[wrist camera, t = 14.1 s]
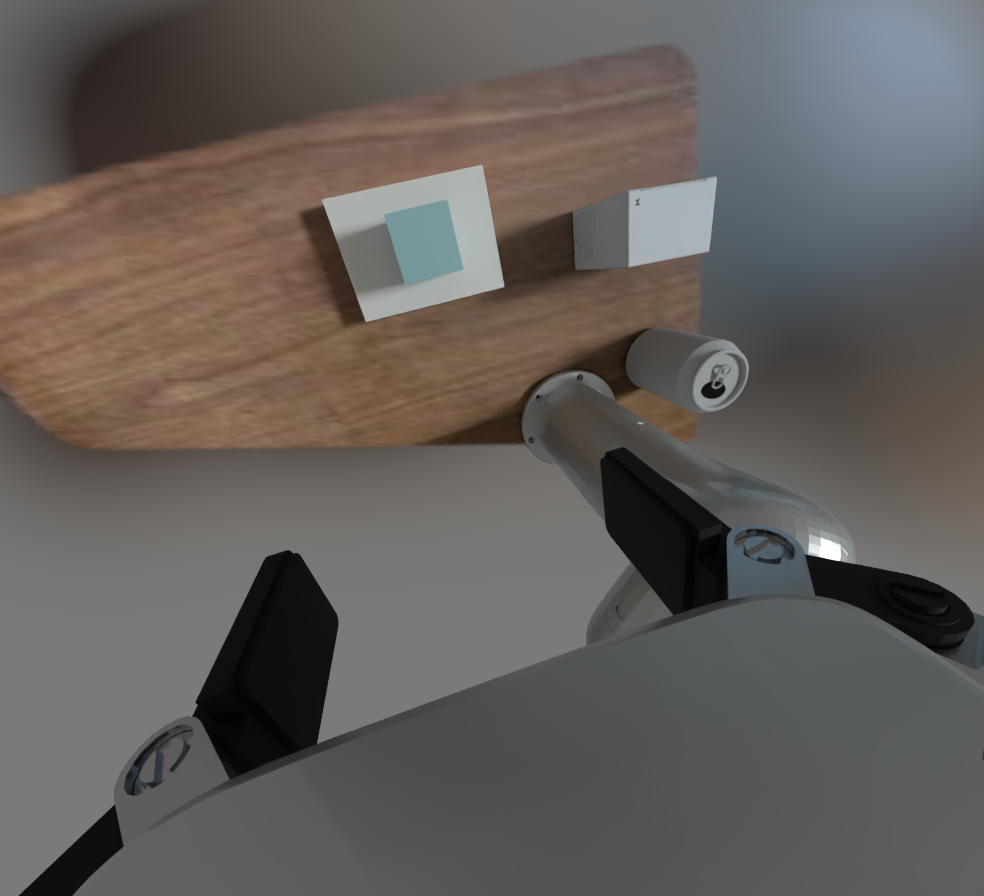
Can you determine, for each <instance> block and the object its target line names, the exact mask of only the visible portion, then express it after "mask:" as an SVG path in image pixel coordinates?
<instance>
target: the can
mask: <svg viewBox="0 0 984 896" xmlns="http://www.w3.org/2000/svg"><path fill="white" fill-rule="evenodd" d="M748 366H749V365H748V362H747V359H746V357H745V356H744V355H743V354H742V353H741V352H740V351H739V349H738V348H737V347H736V346H735V345H734V344H733V343H731V342H729V341H726V340H723V339H718V338H713V337H708V336H703V335H699V334H694V333H689V332H684V331H679V330H674V329H669V328H665V327H657V328H652V329H650V330H647V331H645V332H644V333H643V334H641V335H640V336H639V337H638V338H637V339H636V340H635V341H634V343H633V344H632V345H631V347H630V350H629V352H628V354H627V359H626V371H627V375H628V377H629V379H630V381H631V382H632V383H634V384H635V385H636V386H638V387H640V388H642V389H644V390H646V391H648V392H650V393H652V394H655V395H657V396H659V397H661V398H663V399H665V400H667V401H669V402H671V403H673V404H675V405H677V406H680V407H682V408H684V409H686V410H688V411H692V412H695V413H698V412H706V411H708V412H709V411H717V410H719V409H722V408H725V407H726V406H727V405H729V404H730V403H732V402H733V401H734V400H735V399H736V398H737V397H738V395H739V394H740V393H741V391H742V390H743V388H744V386H745V384H746V381H747V377H748V368H749V367H748Z"/></svg>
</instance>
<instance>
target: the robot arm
mask: <svg viewBox="0 0 984 896" xmlns="http://www.w3.org/2000/svg"><path fill="white" fill-rule="evenodd" d="M578 375H579V376H578ZM577 376H578V377H577ZM537 395H538V397H537V398H536V396H537ZM521 432H522V436H523V439H524V441H525V443H526V445H527V446H528V448H529V449H530V451H531V452H532V453H533V454H534V455H536V457H538V458H539V459H541V460H542V461H545V462H547V463H550V464H556V465H558V466H559V467H560V468H561V469H562V471H563V472H564V473H565V474H566V476H567V477H568V478H569V479H570V480H571V482H572V483H573V484H574V485H575V487H576V488H577V489H578V490H579V492H580V493H581V494H582V495H583V497H584V498H585V499H586V500H587V502H588V503H589V504H590V505H591V506H592V508H593V509H594V510H595V511H596V512H597V514H598V515H599V516H600V517H601V518H602V519H603V520H604V521H605V524H606V528H607V531H608V533H609V534H610V536H611V537H612V539H613V540H614V541H615V542H616V544H617V545H618V546H619V547H620V549H621V550H622V551H623V553H624V554H625V555H626V556H627V558H628V559H629V560H630V561H631V562H630V564H629V565H628V566H627V567H626V569H625V570H624V571H623V573H622V574H621V575H620V577H619V578H618V579H617V581H616V582H615V583H614V585H613V586H612V587H611V589H610V590H609V591H608V593H607V594H606V595H605V597H604V599H603V600H602V601H601V603H600V604H599V605H598V607H597V608H596V610H595V611H594V613H593V615H592V617H591V619H590V622H589V624H588V627H587V633H586V644H587V646H584V647H582V648H578V649H576V650H573V651H570V652H567V653H564V654H562V655H559V656H556V657H553V658H550V659H548V660H545V661H542V662H539V663H537V664H534V665H531V666H528V667H526V668H523V669H520V670H517V671H514V672H512V673H509V674H506V675H503V676H501V677H498V678H495V679H492V680H490V681H487V682H484V683H481V684H479V685H476V686H473V687H470V688H468V689H465V690H462V691H459V692H457V693H454V694H451V695H448V696H446V697H443V698H440V699H437V700H435V701H432V702H429V703H426V704H424V705H421V706H418V707H416V708H413V709H410V710H407V711H405V712H402V713H399V714H397V715H394V716H391V717H388V718H386V719H383V720H380V721H378V722H375V723H372V724H370V725H367V726H364V727H361V728H359V729H356V730H354V731H350V732H348V733H345V734H343V735H340V736H337V737H334V738H332V739H329V740H326V741H324V742H321V743H319V744H317V740H318V735H319V729H320V724H321V718H322V713H323V708H324V702H325V697H326V691H327V686H328V680H329V675H330V669H331V663H332V658H333V653H334V647H335V642H336V636H337V631H338V617H337V614H336V612H335V610H334V609H333V607H332V606H331V604H330V602H329V601H328V599H327V598H326V596H325V594H324V593H323V591H322V589H321V588H320V586H319V585H318V583H317V582H316V580H315V578H314V577H313V575H312V573H311V572H310V570H309V568H308V567H307V565H306V564H305V562H304V560H303V559H302V557H301V556H300V555H299V554H298V553H294V554H293V553H292V552H291V551H289V550H287V551H283V552H280V553H277V554H274V555H271V556H268V557H266V558H265V560H264V561H263V563H262V566H261V568H260V570H259V572H258V574H257V576H256V578H255V580H254V582H253V584H252V586H251V588H250V591H249V593H248V595H247V597H246V599H245V601H244V603H243V605H242V607H241V609H240V611H239V613H238V615H237V617H236V619H235V621H234V624H233V626H232V628H231V630H230V632H229V634H228V636H227V638H226V640H225V642H224V644H223V646H222V648H221V650H220V653H219V655H218V657H217V659H216V661H215V663H214V665H213V667H212V669H211V671H210V673H209V676H208V678H207V679H206V682H205V684H204V686H203V688H202V690H201V692H200V694H199V696H198V698H197V700H196V704H198V706H197V708H196V710H195V712H194V714H193V716H192V717H189V716H187V717H184V718H180V719H177V720H175V721H173V722H171V723H169V724H167V725H165V726H164V727H163V728H161V729H160V730H159V731H158V732H156V733H155V734H153V735H152V736H151V737H150V738H149V739H148V740H147V741H146V742H144V743H143V744H142V745H141V746H140V747H139V748H138V750H137V751H136V752H135V754H134V755H133V756H132V757H131V758H130V759H129V761H128V763H127V764H126V765H125V767H124V769H123V770H122V772H121V773H120V775H119V778H118V780H117V783H116V786H115V789H114V802H115V805H114V806H113V807H112V808H111V809H110V810H109V811H107V813H106V814H105V815H103V816H102V817H101V818H100V819H99V820H98V821H97V822H96V823H95V824H94V825H93V826H92V827H91V828H90V829H89V830H87V831H86V832H85V833H84V834H83V835H82V836H81V837H80V838H79V839H78V840H77V841H76V842H75V843H74V844H73V845H72V846H71V847H70V848H68V849H67V850H66V851H65V852H64V853H63V854H62V855H61V856H60V857H59V858H58V859H57V860H56V861H55V862H54V863H53V864H52V865H51V866H50V867H48V868H47V869H46V870H45V871H44V872H43V873H42V874H41V875H40V876H39V877H38V878H37V879H36V880H35V881H34V882H33V883H32V884H31V885H29V887H28V888H26V889H25V890H24V891H23V892H22V893H21V894H20V895H19V896H984V616H981V615H979V614H976V613H973V612H972V611H971V610H970V609H969V607H968V606H967V604H966V603H965V602H963V601H962V600H961V599H960V598H959V597H957V596H956V595H955V594H954V593H952V592H950V591H948V590H947V589H945V588H943V587H942V586H940V585H937V584H935V583H933V582H930V581H928V580H925V579H923V578H919V577H916V576H912V575H908V574H903V573H898V572H893V571H888V570H883V569H878V568H873V567H868V566H862V565H857V564H855V563H856V560H855V551H854V546H853V543H852V540H851V538H850V536H849V534H848V533H847V531H846V530H845V528H844V527H843V526H842V525H841V524H840V523H839V522H838V521H837V520H836V519H835V518H834V517H833V516H832V515H831V514H830V513H828V512H827V511H826V510H825V509H823V508H821V507H820V506H818V505H816V504H815V503H813V502H812V501H810V500H808V499H807V498H805V497H803V496H801V495H799V494H796V493H794V492H792V491H790V490H788V489H786V488H784V487H781V486H779V485H776V484H774V483H771V482H769V481H766V480H763V479H761V478H759V477H756V476H753V475H751V474H748V473H745V472H743V471H740V470H738V469H735V468H733V467H730V466H728V465H726V464H724V463H722V462H719V461H717V460H715V459H712V458H710V457H708V456H707V455H705V454H703V453H701V452H699V451H697V450H696V449H694V448H692V447H690V446H688V445H686V444H685V443H683V442H681V441H679V440H678V439H676V438H674V437H673V436H671V435H669V434H668V433H666V432H664V431H662V430H660V429H659V428H657V427H656V426H654V425H652V424H651V423H649V422H647V421H646V420H644V419H642V418H641V417H639V416H637V415H636V414H634V413H632V412H631V411H629V410H627V409H626V408H624V407H622V406H621V405H619V404H617V403H616V400H615V397H614V394H613V392H612V390H611V388H610V387H609V385H608V384H607V383H606V382H605V381H604V380H603V379H601V378H600V377H598V376H597V375H595V374H593V373H591V372H588V371H584V370H566V371H561V372H559V373H556V374H554V375H552V376H550V377H548V378H547V379H545V380H544V381H542V382H541V383H540V384H539V385H538V386H537V387H536V388H535V389H534V390H533V392H532V393H531V394H530V396H529V397H528V399H527V401H526V403H525V405H524V408H523V411H522V416H521ZM530 437H531V438H530ZM529 438H530V439H529Z"/></svg>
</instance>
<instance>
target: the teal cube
mask: <svg viewBox="0 0 984 896" xmlns="http://www.w3.org/2000/svg"><path fill="white" fill-rule="evenodd" d="M384 217H385V220H386V224H387V227H388V230H389V233H390V237H391V240H392V243H393V246H394V250H395V253H396V256H397V260H398V263H399V266H400V269H401V273H402V276H403V279H404V282H405V285H406V284H410V283H414V282H418V281H422V280H426V279H429V278H433V277H437V276H441V275H445V274H449V273H453V272H457V271H461V270H464V269H463V265H462V261H461V256H460V252H459V248H458V243H457V239H456V235H455V231H454V226H453V222H452V218H451V213H450V209H449V205H448V201H447V200H443V201H438V202H434V203H430V204H426V205H421V206H417V207H413V208H409V209H404V210H400V211H396V212H392V213H387V214H384Z"/></svg>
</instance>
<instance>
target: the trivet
mask: <svg viewBox="0 0 984 896" xmlns="http://www.w3.org/2000/svg"><path fill="white" fill-rule="evenodd" d="M443 200H447V201H448V205H449V209H450V213H451V218H452V222H453V226H454V231H455V235H456V239H457V243H458V248H459V252H460V256H461V261H462V265H463V269H464V270H461V271H457V272H453V273H449V274H445V275H441V276H437V277H433V278H429V279H426V280H422V281H418V282H414V283H410V284H406V285H405V282H404V279H403V276H402V273H401V269H400V266H399V263H398V260H397V256H396V253H395V250H394V246H393V243H392V240H391V237H390V233H389V230H388V227H387V224H386V220H385V217H384V214H387V213H392V212H396V211H400V210H404V209H409V208H413V207H417V206H421V205H426V204H430V203H434V202H438V201H443ZM322 202H323V205H324V207H325V210H326V213H327V216H328V218H329V221H330V224H331V227H332V230H333V232H334V235H335V238H336V241H337V243H338V246H339V249H340V252H341V254H342V257H343V260H344V263H345V266H346V268H347V271H348V274H349V277H350V279H351V282H352V285H353V288H354V291H355V293H356V296H357V299H358V302H359V304H360V307H361V310H362V313H363V315H364V318H365V321H366V322H368V321H372V320H376V319H380V318H384V317H388V316H392V315H396V314H400V313H404V312H408V311H412V310H416V309H420V308H424V307H427V306H431V305H435V304H439V303H443V302H447V301H451V300H455V299H459V298H463V297H467V296H471V295H475V294H479V293H483V292H487V291H491V290H495V289H499V288H502V287H504V281H503V276H502V270H501V265H500V259H499V254H498V248H497V243H496V237H495V232H494V226H493V221H492V215H491V210H490V204H489V199H488V193H487V188H486V182H485V177H484V171H483V166H482V165H479V166H474V167H470V168H465V169H460V170H456V171H451V172H447V173H442V174H437V175H433V176H428V177H424V178H419V179H414V180H410V181H405V182H401V183H396V184H391V185H387V186H382V187H378V188H373V189H368V190H364V191H359V192H355V193H350V194H345V195H341V196H336V197H332V198H327V199H322Z"/></svg>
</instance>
